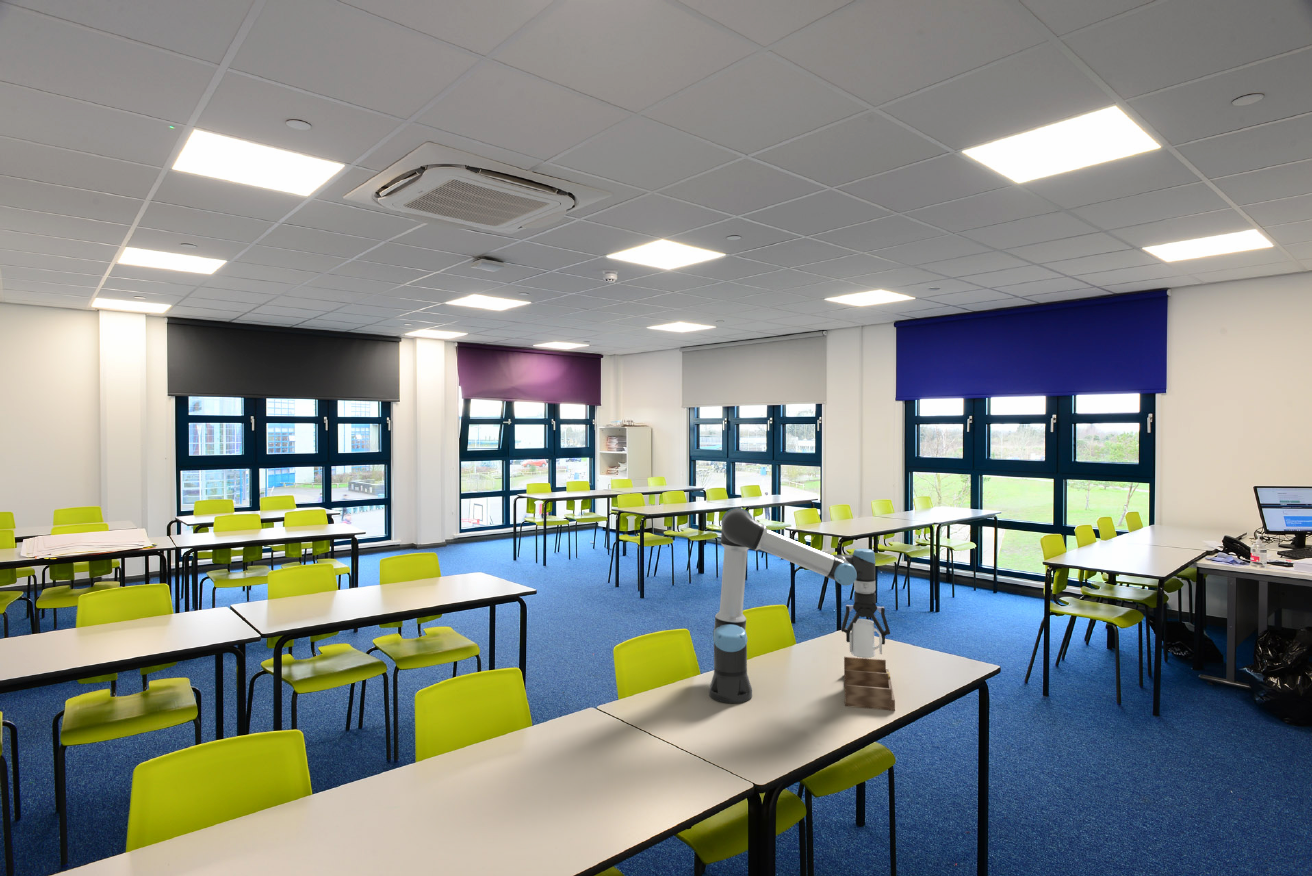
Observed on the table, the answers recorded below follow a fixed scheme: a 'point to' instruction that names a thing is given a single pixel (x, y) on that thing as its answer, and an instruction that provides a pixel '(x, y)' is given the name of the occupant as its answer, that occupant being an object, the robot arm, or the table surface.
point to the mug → (864, 638)
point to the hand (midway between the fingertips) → (865, 651)
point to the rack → (868, 684)
